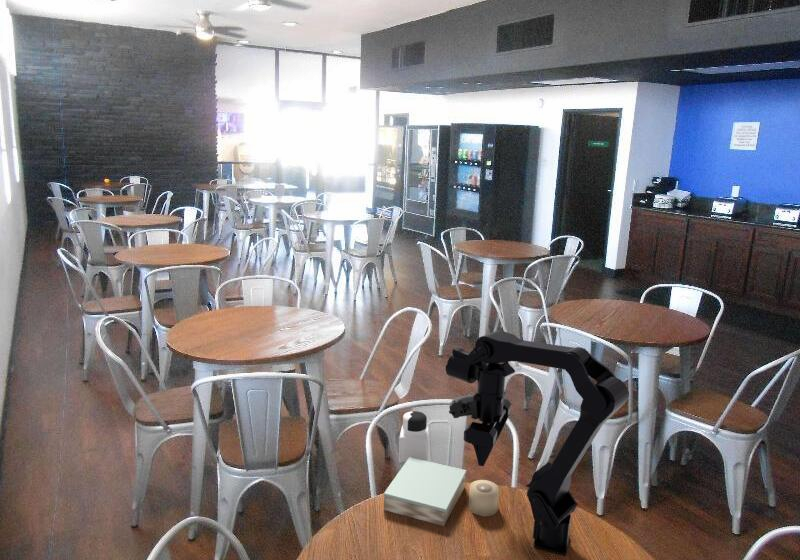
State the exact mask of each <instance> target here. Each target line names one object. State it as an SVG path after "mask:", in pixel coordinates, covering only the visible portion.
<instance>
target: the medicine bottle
mask: <svg viewBox="0 0 800 560" xmlns="http://www.w3.org/2000/svg"><path fill="white" fill-rule="evenodd" d="M427 419H428V418H427V415H426V414H425V413H423V412H421V411H418V410H415V411H414V410H413V411H412V410H411V411H408V412H406V413H404V414H403V416H402V425H401V429H400V433H399V439H398V442H399V443H398V462H399V464H405V463H406V461H407V460H408V458H409V457H411V458H416V459H420V460H424V461H428V454H429V437H430V435H429V431H430V427H428V426H427V423H428V422H427Z"/></svg>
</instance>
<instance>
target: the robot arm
mask: <svg viewBox="0 0 800 560" xmlns="http://www.w3.org/2000/svg"><path fill="white" fill-rule="evenodd" d="M451 352H452V354H451V355H450V356H449V357H448V360H447V361H446V364H445V373H446V375H447V376H449V377H451V378H453V379H456V380H459V381H462V382H465V383H468V384H474V383H476V381H477V385H476V386H477V387H476V388H477V389H476V393H475V394H467V395H461V396H460V395H459V396H456V397H454V398H453V399H452V400H451V402H450V403H449V407H448V408H449V410H448V413H449V414H450V415H451V416H452V418H453V419H458V418H461V417H467V416H471V419H473V420H479V422H476V421H472V422H471V423H469V424H468V425H467V426H466V427H465V429H464V431H463V441H464V442H465V443H468V444H471V445H472V446H473V449H474V452H475V457H476V459H477V460H476V461H477V464H478V466H479V467H485V464H486V462H487V461H488V458H489V456H490V455H491V452H492V451H493V448H494V447H495V445H496V443H497V441H498V439H499V436H500V435H501V433H502V431H503V429H504V427H505V425H506V422H507V421H508V419H509V417H510V413H511V411H512V403H511V402H510V400H509V399H508V398H506V396H507V391H505V386H506V385H505V383H506V377H508V376H511V375H512V374H514V373H516V369H514V367H513V366H512V365H511V364H510V363H509V362H519V363H525V364H530V365H531V364H532V365H536V366H541V367H545V368H546V367H547V368H553V369H558V370H564V371H565V372H566V373H567V374H568V375H569V377H570V379H571V382H572V384H573V386H574V389H575V391H576V393H577V394H578V395H579V396H580V397H581V398H582V400H581V402H580V403H581V404H580V407H579V411H580V412H579V417H578V420H577V421H576V423H575V425H574V426H573V428H572V430H571V431H570V433H569V434H568V436H567V438H566V440H565V441H564V443H563V444H562V446H561V448H560V450H559V451H558V453H557V454H556V457H554V460H553V461H552V463H551V462H550V461H548V462H547V463H545V464H544V465H542V466H541V467H540V468H539V469H537V470H535V472H534V473H533V474H532V476H531V480H530V482H529V483H527V484H526V485H525V486H526V487H527V491H526V497H527V499H528V501H529V504H530V509H531V513H532V518H533V520H534V522H533V530H532V531H533V533H532V534H533V535H532V539H534V542H533V547H534V548H536V549H539V550H544V551H548V552H551V553H555V554H559V555H562V556H566V555H567V553H568V549H569V543H570V537H571V536H570V527H571V519H572V517H571V515H572V513H574V512H575V511H576V509H577V508H578V505H579V503H578V502H577V501H576V499H575V498H574V496H573V495H572V493H571V492H570V490H569V489H570V487H571V484H572V475H573V472H575V470H576V468H577V467H578V464H579V463H580V462H581V460H582V459H583V457H584V455H585V453H586V452H587V451H588V449H589V447H590V446H591V444H592V442H593V441H594V439H595V438H596V436H598V433H599V431H600V430H601V428H602V426H603V425H604V424H605V423H606V422H607V421H609V420H610V419H611V417H612V416H614V414H616V413H617V412H618V411H619V410H620V409H621V408H623V406H624V405H625V404H626V403H627V402H628V400H629V398H630V392H629V390H628V387H627V385H626V384H625V382H624V381H622V379H620V378H618V377H616V375H615V374H614V373H613V372H612V371H611V370H610V368H609V367H608V366H606V365H604V364H603V363H601V362H600V361H599V360H597V359H596V358H594V357H593V356H592V354H591V353H590V352H589V351H588V350H587V349H586V348H583V347H580V346H575V347H572V346H565V345H559V344H551V343H544V342H538V341H530V340H524V339H521V338H519V337H518V336H516V335H515V334H513V333H509V332H506V331H503V330H495V331H493V332H490V333H487V334H485V335H482V336H479V337H478V339H476V341H475V346H474V348H473V349H472V350H471V351H468V350H465V348H462V347H459V346H458V347H456V348H453V349H452V351H451ZM591 378H592V379H593V380H594V381H596V383H594V382H593V381H592V380H591ZM480 422H481V423H480Z"/></svg>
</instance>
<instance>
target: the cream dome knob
mask: <svg viewBox="0 0 800 560" xmlns="http://www.w3.org/2000/svg"><path fill="white" fill-rule="evenodd" d="M499 492H500V489H499V486H498V485H497V484H496V483H494V482H493V481H490V480H487V479H478V480H475V481H472V482H471V483H470V485H469V496H468V509H469V510H470V511H471V513H472V514H474V515H477V516H480V517H491V516H493V515H495V514H496V513H497V512H498V506H499V505H498V504H499Z"/></svg>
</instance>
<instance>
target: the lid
mask: <svg viewBox="0 0 800 560" xmlns="http://www.w3.org/2000/svg"><path fill="white" fill-rule="evenodd" d="M466 474H467V469H463V468H458V467H454V466H449V465H445V464H440V463H437V462H432V461H429V460H427V461H424V460H420V459H416V458H411V457H409V458H408V460H407V461H406V463H403V466H401V468H400V469H399V471H398V473H397V474H396V475H395V477H394V478H393V480H392V481H391V482H390V484H389V486H388V487H387V488H386V489H385V491H384V493H383V498H384V497H388V498H392V499H396V500H400V501H404V502H407V503H411V504H415V505H419V506H423V507H426V508H430V509H434V510H438V511H442V512H447V510H448V508H449V506H450V504H451V502H452V500H453V498H454V496H455V494H456V492H457V490H458V488H459V486H460V484H461V482H462V480H463V478H464V477H465V478H466Z"/></svg>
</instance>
